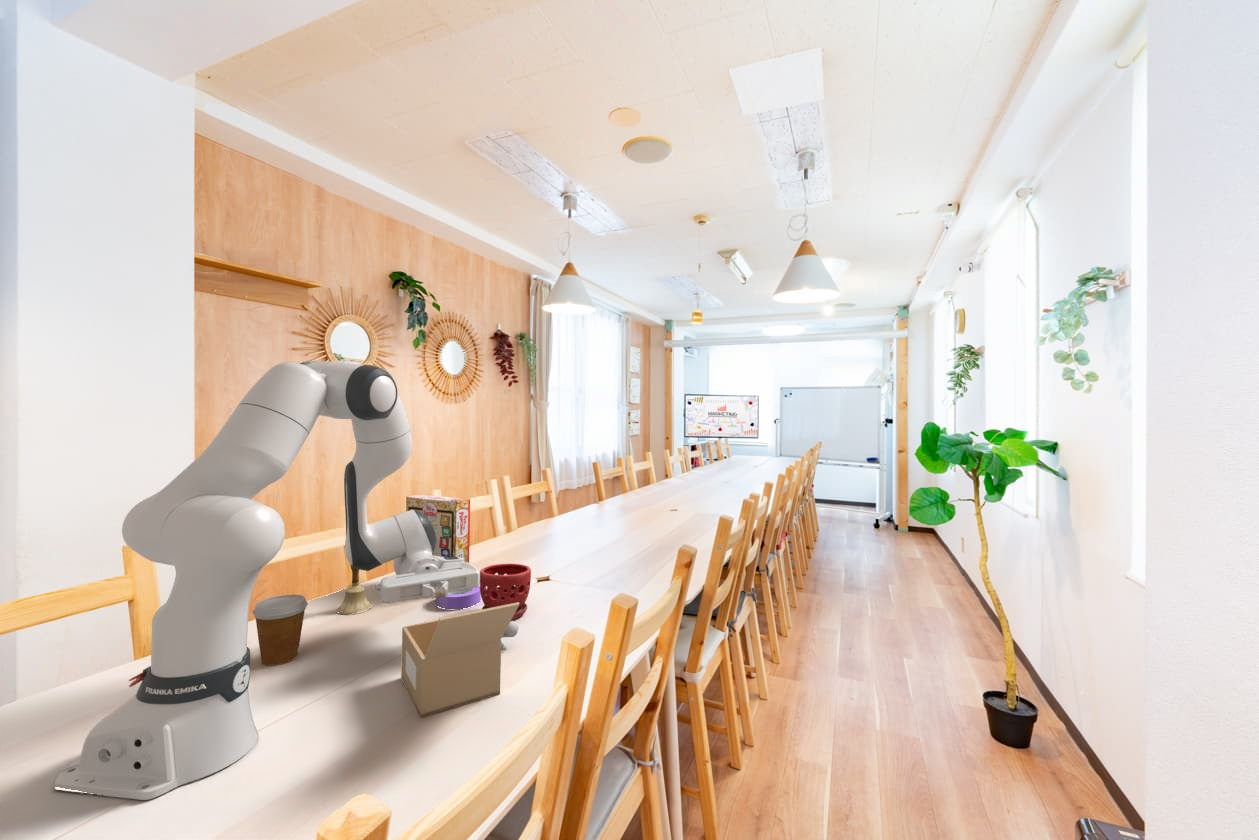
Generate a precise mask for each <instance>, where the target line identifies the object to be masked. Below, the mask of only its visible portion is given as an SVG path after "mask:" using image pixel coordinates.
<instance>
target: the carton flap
mask: <svg viewBox="0 0 1259 840" xmlns="http://www.w3.org/2000/svg"><path fill="white" fill-rule="evenodd" d="M518 606H519V602H517V603H512V604H507V605H502V606H497V607H493V608H488V609H483V610H482V609H479V610H478V609H477V610H473V611H468V612H464V613H459V614H453V615H449V616H445V617H444V616H443V617H439V619H438V620H439V621H438V624H437V627H436V629H435V632H434V634H433V637H432V640H431V642H430V645H429V648H428V650H427V653H426V655H425V660H427V659H431V658H435V657H439V656H443V655H447V654H451V653H455V652H460V651H464V650H468V649H472V648H476V647H480V646H484V645H488V644H492V643H496V642H500V640H501V641H502V638H503V637H502V636H503V635H504V633H505V631H506V629H507V627H508V625H509V623H510V621H512V620H513V619H512V618H513V616H514V614H515V612H516V610H517V608H518Z"/></svg>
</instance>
